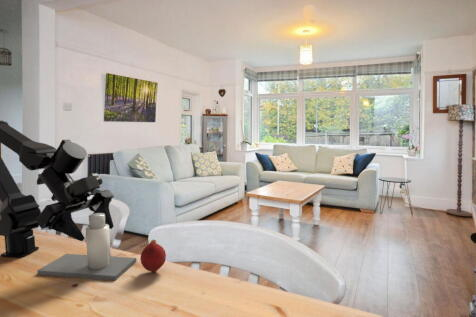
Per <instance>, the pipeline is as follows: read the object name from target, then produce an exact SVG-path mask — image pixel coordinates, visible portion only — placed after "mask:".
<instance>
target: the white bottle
mask: <svg viewBox="0 0 476 317" xmlns="http://www.w3.org/2000/svg"><path fill="white" fill-rule="evenodd" d="M88 224H89V225H88V226H86V227H85V236H86V237H85V239H86V242H85V243H86V255H87V261H88V268H89V269H102V268H105V267H107V266H109V265H110V264H111V239H110V228H109V225H108V224H105V214H104V213H95V214H93V213H90V214H89V215H88Z"/></svg>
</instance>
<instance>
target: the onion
mask: <svg viewBox="0 0 476 317" xmlns="http://www.w3.org/2000/svg"><path fill="white" fill-rule="evenodd" d="M166 259H167V253H166V250H165V249H164V247H163V246H162V245H160V244H159V243H157V240H156V239H154V238H153V239H151V240H150V242H149V244H147V245H145V247H143V249H142V252H141V254H140V260H139V261H140V263H141V265H142V267H143V269H145V270H146V271H148V272H151V273H156V272H158V270H160V269H161V268H162V267H163V265H165V262H166Z"/></svg>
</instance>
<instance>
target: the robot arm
mask: <svg viewBox="0 0 476 317" xmlns="http://www.w3.org/2000/svg"><path fill="white" fill-rule="evenodd" d="M0 144H2V145H4V146H6V147H7V148H8V149H9V150H11V151H12V152H14V153H15V154H17V156H18V160H19V161H18V162H20V163H21V164H22V165H23V166H24V167H25V168H26V169H28V170H29V171H38V170H42V172H41V173H38V175H37V179H36V185H37V186H41V185H45V186H46V187H47V188H48V190H49V191H50V193H51V195H52V196H51V197H50V199H51V200H52V202H54V203H50V204H46V205H45V207H44V208H43V209H42V210H41V208H40V205H39V204H38V202H37V201H36V198H35V196H34V195H32V194H28V195H25V194H24V193H22V191H21V190H20V188H19V185H18V184H17V183H16V180H14V177H13V176H12V174H11V172H10V170H9V168H8V167H7V165H6V163H5V162H4V160H3V158H2V157H1V155H0V203H1V206H0V217H1V218H0V236H1V237H2V236H3V237H4V247H5V251H4V252H3V253H0V256H1V257H6V258H8V257H10V258H23V257H25V256H27V255H29V254H31V253H33V252H35V251H37V250H39V249H40V247H39V246H36V238H35V235H34V229H37V228H39V227H40V229H42V230H44V229H48V230H49V231H52V230H53V231H57V232H59V233H61V234H63V235H66V236H69V237H71V238H73V239H75V240H77V241H80V242H83V241H85V239H86V237H85V236H84V234H83V232H82V231H81V229H80V228H79V227H78V225H77V223H76V222H75V221H74V219H73V217H72V213H75V212H79V211H82V210H85V209H89V211H90V212H93V213H92V214H95V213H104V214H105V224H108V225H109V230H112V229H113V228H114V227H115V226H114V222H113V220H112V216H111V212H110V203H111V202H112V199H113V198H114V197H115V195H114V194H113V193H112V191H111V190H109V189H104V190H101V191H96V192H95V193H94V195H93V196H92V197H91V195H92V194H93V193H92V191H93V192H94V190H97V189H100V188H101V185H103V183H104V182H103V179H102V177H101V176H100V174H98V173H97V172H96V173H91V174H90V175H88V176H86V177H82V178H79V179H76V180H74V178H73V176H71V175H70V174H74V173H75V172H76V171H77V170H79V167H80V166H81V164H82V163H83V162H84V161H85V159H86V158H87V156H88V152H87V150H86V148H85V147H83V146H81V145H80V144H78V143H76V142H73V141H71V139H68V138H67V139H62V140H61V142H60V143H59V146H58V147H57V149H56V148H55V147H54V146H53V145H50V144H46V143H43V142H38V141H35V140H32V139H31V138H29V137H28V136H26V135H25V134H23V133H22V132H20V131H18V130H17V129H15V128H14V127H12V126H10V124H9V123H8V122H7V121H4V120H0ZM90 197H91V198H90ZM88 198H89V199H88Z"/></svg>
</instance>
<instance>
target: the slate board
mask: <svg viewBox="0 0 476 317" xmlns="http://www.w3.org/2000/svg"><path fill="white" fill-rule="evenodd" d="M135 263H137V257H126V256H111V264H110V265H109V266H107V267H105V268H102V269H89V268H88V261H87V254H81V253H80V254H79V253H65V254H63V255H62V256H60V257H58V258H56V259H54V260H53V261H51V262H49V263H48V264H45V265H44V266H42V267H41V268H38V269H37V271H36V272H37V273H36V274H37V276H38V275H40V276H41V275H42V276H50V277H51V276H53V277H54V276H55V277H67V278H80V279H81V278H82V279H96V280H105V281H107V280H108V281H116V280H118V279H119V278H120V277H121V276H122V275H123V274H124V273H125V272H127V271H128V270H129V269H130V268H131V267H132V266H133V265H134V264H135Z"/></svg>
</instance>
